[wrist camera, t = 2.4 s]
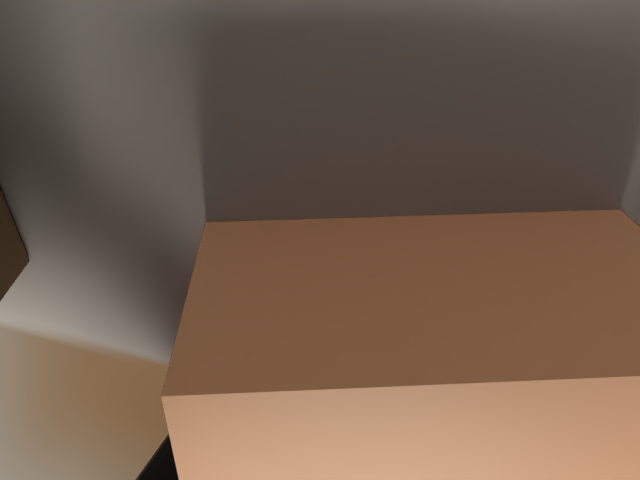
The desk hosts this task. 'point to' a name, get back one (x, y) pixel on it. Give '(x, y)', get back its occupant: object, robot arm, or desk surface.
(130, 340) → the desk surface
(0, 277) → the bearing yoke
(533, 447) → the block
